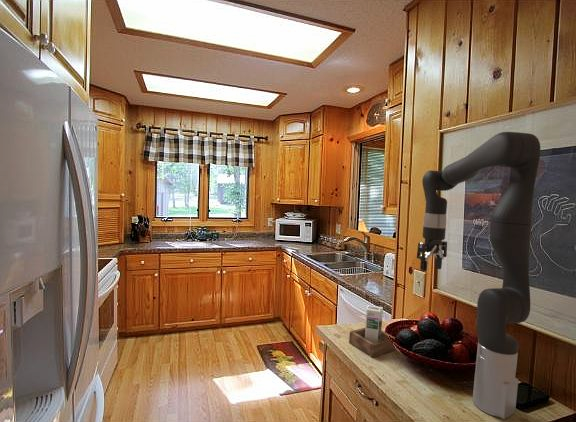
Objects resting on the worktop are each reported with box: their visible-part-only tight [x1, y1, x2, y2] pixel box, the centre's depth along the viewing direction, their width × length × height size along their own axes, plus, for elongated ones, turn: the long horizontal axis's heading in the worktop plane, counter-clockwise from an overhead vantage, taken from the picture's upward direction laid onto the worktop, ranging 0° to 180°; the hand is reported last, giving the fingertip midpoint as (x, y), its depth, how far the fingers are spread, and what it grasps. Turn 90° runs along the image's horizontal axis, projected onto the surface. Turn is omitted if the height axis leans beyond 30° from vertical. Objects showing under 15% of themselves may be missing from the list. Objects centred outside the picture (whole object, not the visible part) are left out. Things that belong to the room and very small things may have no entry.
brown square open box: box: [348, 327, 397, 359], centre depth 122 cm, size 12×12×4 cm
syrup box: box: [365, 304, 384, 343], centre depth 122 cm, size 6×6×14 cm
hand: (430, 269), depth 120 cm, fingers open, 8 cm apart
